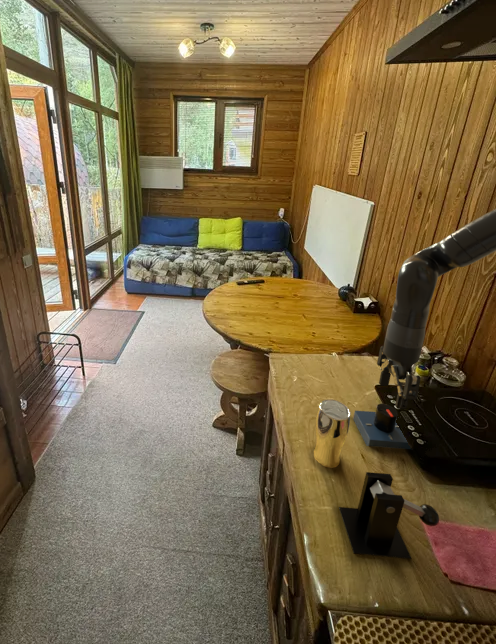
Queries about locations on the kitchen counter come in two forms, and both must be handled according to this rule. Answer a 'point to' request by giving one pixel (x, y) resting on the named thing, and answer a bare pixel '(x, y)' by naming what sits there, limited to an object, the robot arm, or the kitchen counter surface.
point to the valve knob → (385, 418)
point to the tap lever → (410, 505)
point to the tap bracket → (375, 521)
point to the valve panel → (378, 432)
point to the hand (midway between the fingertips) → (391, 395)
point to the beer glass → (331, 431)
